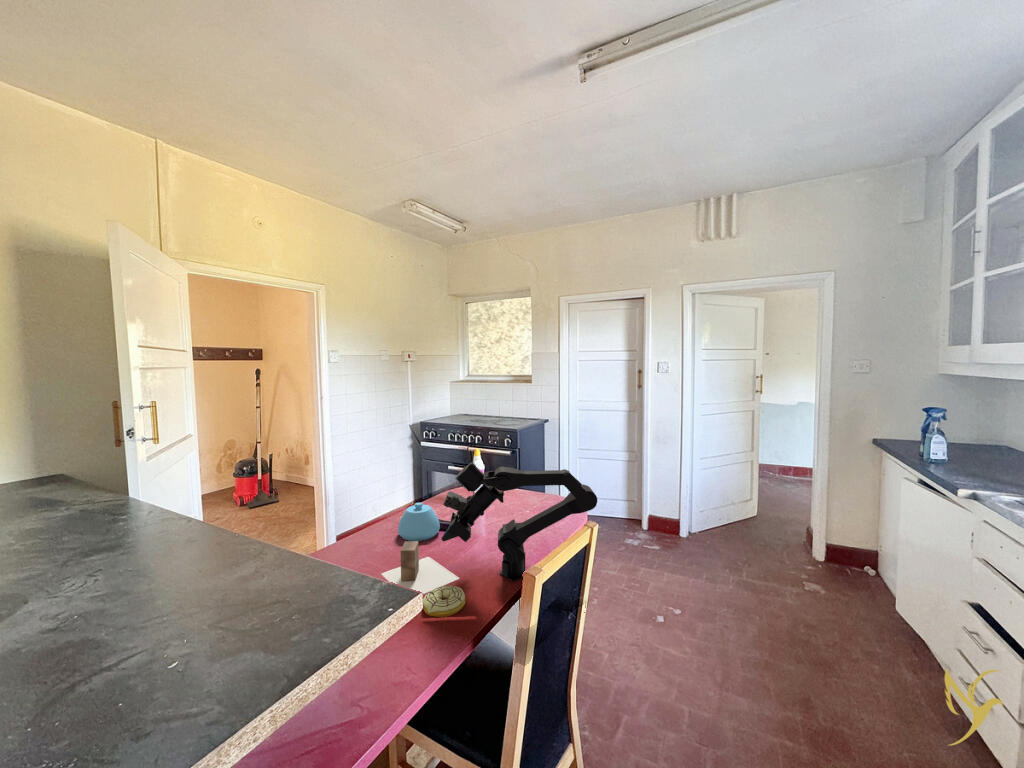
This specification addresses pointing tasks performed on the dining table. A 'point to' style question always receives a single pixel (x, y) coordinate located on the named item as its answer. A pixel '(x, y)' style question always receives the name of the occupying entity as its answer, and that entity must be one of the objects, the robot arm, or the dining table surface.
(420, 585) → the rubber mat
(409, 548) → the walnut block
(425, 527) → the sugar bowl
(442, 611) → the decorated donut
